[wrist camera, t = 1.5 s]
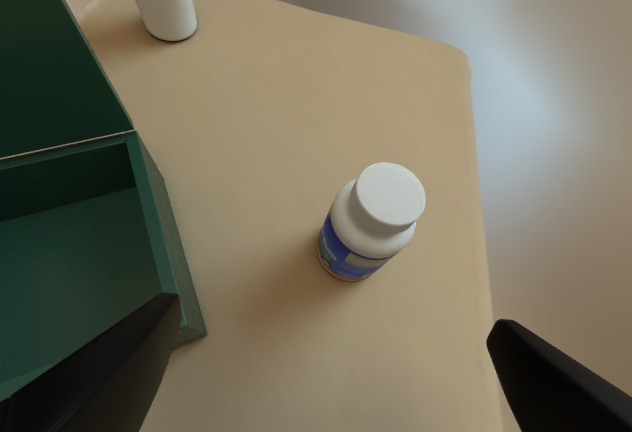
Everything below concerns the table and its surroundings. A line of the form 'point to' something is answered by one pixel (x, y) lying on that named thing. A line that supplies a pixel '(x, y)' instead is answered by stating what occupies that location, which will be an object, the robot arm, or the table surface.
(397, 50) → the table surface
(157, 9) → the white tumbler
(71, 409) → the robot arm
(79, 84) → the green box lid
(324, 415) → the table surface
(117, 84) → the table surface
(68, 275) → the green open box
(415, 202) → the pill bottle
